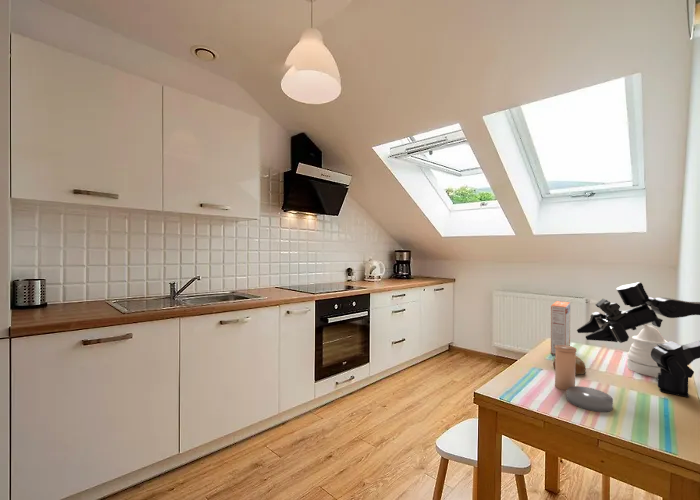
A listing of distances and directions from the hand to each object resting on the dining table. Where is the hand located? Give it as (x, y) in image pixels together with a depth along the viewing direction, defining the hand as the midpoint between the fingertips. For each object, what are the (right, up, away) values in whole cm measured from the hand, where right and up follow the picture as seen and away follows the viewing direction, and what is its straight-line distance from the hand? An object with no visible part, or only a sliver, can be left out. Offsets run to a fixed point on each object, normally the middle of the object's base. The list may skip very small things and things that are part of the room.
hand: (581, 334), depth 115 cm
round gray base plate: (-9, -16, -16) cm, 24 cm away
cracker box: (+13, -15, +32) cm, 38 cm away
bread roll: (+2, -16, +10) cm, 19 cm away
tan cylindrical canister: (-9, -16, -6) cm, 19 cm away
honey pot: (+32, -16, +10) cm, 37 cm away
